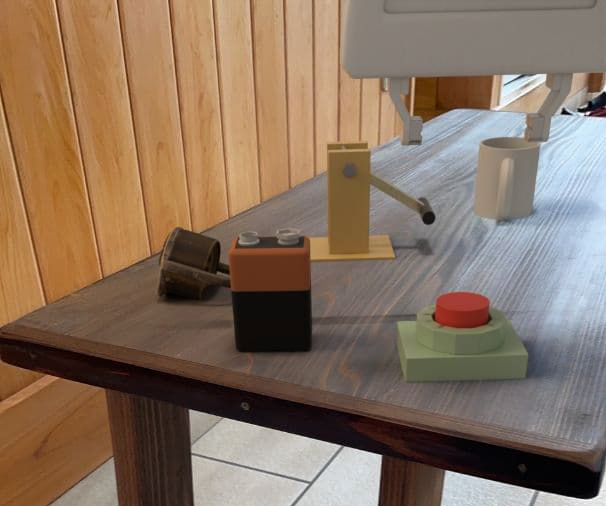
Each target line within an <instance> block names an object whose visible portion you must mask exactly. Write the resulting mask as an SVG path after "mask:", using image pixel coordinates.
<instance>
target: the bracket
mask: <svg viewBox="0 0 606 506" xmlns="http://www.w3.org/2000/svg"><path fill="white" fill-rule="evenodd" d="M342 145H343V146H345V147H346V148H348V149H347V150H340V148H341V146H342ZM371 151H372V150H371V148H369V143H368V140H350V141H347V140H345V141H327V142H326V185H327V186H326V188H327V189H326V190H327V191H326V197H327V236H321V237H317V236H316V237H308V238H309V239H310V259H311V263H328V262H329V263H331V262H332V263H333V262H362V261H363V262H364V261H366V262H367V261H392V260H393V261H395V260H396V255H395V251H394V248H393V245H392V241H391V239H390V236H389V234H387V235H386V234H385V235H384V234H382V235H370V216H371V215H370V214H371V213H370V207H371V206H370V205H371V184H370V171H371V159H372V156H371V155H372V152H371Z"/></svg>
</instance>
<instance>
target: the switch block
mask: <svg viewBox="0 0 606 506" xmlns="http://www.w3.org/2000/svg"><path fill="white" fill-rule="evenodd" d="M435 311H436V303H434V304H430V305H427V306H426V305H425V307H424V308H422V309H421V310H420V311H419V312H417V314H416V320H398V321H396V329H395V346H396V351H397V354H398V358H399V361H400V367H401V370H402V374H403V378H404V382H405V383H420V382H421V383H423V382H457V381H459V382H460V381H487V380H489V381H491V380H520V379H521V380H523V379H524V380H525V379H526V377H527V369H528V361H529V356H530V355H529V353H528V351H527V349H526V347H525V346H524V344H523V342H522V340H521V338H520V337H519V335H518V332H517V331H516V329H515V327H514V325H513V324H512V322H511V320H510V318H509V317H506V316H505V314H504V312H503V311H502V310H501V309H498V308H496V307H494V306H491V305H489V314H488V323H487V325H483V326H480V327H476V328H460V329H459V328H453V327H447V326H442V325H440V324H439V323H437V322H435Z"/></svg>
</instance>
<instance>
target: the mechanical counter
mask: <svg viewBox="0 0 606 506" xmlns="http://www.w3.org/2000/svg"><path fill="white" fill-rule="evenodd" d="M221 248H222V247H221V242H220V240H219V239H217V238H213V237H210V236H207V235H204V234H201V233H198V232H195V231H191V230H189V229H184V228H183V227H181V226H176V227H174V228H173V229H172V230H171V231H170V232H169V233H168V235H167V236H166V238H165V241H163V245H162V249H161V251H160V254H159V259H158V265H159V273H158V279H157V285H156V290H155V294H154V295H155V296H157V297H159V298H160V297H162V296H164V295H166V294H168V293H170V294H173V295H176V296H180V297H184V298H188V299H194V300H199V301H201V300H203V298H202V292H203V291H204V290H205V288H207V287H210V286H218V287H223V288H227V289H231V281H230V277H228V276H230V268H229V264H227V263H223V262H221V261H220V260H221V253H222V249H221ZM218 273H220V274H218ZM221 274H224V275H226V276H224V275H221ZM227 275H228V276H227Z"/></svg>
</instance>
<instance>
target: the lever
mask: <svg viewBox="0 0 606 506" xmlns="http://www.w3.org/2000/svg"><path fill="white" fill-rule="evenodd" d="M347 149H348V148H346V147H345V146H343V145H342V146H341V148H340V150H347ZM370 186H372V187H374V188H375V189H377V190H379V191H381V192H382V193H384V194H385V195H387V196H389V197H391V198H393V199H394V200H395V201H398V202H399V203H401V204H402V205H404V206H406V207H408V208H409V209H411V210H412V211H414V212H416V213H417V214H419V216H420V218H421V221H422V223H423V224H424V225H426V226H430V225H433V224H434V223H435V221H436V214H435V212H434V210H433V208H432V206H431V204H430V202H429V200H428V198H427V197H424V196H421V197H419V198H418V199H417V198H416V197H414V196H412V195H411V194H410V193H407V192H406V191H404V190H403V189H401V188H399V187H398V186H396V185H395V184H393V183H391V182H389V181H388V180H386V179H385V178H383V177H381V176H379V175H378V174H376V173H375V172H373V171H372V170H370Z"/></svg>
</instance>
